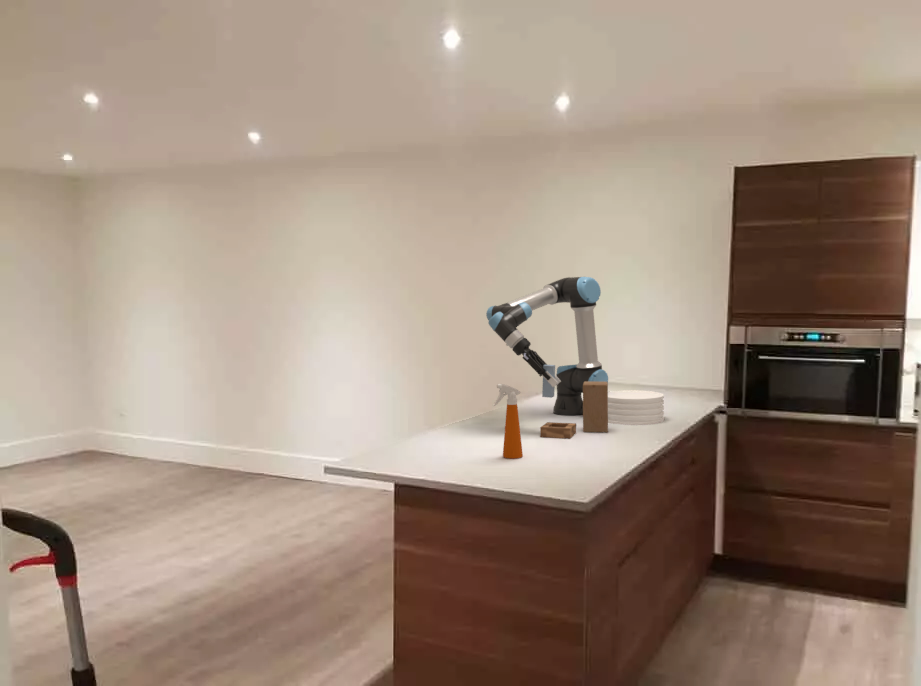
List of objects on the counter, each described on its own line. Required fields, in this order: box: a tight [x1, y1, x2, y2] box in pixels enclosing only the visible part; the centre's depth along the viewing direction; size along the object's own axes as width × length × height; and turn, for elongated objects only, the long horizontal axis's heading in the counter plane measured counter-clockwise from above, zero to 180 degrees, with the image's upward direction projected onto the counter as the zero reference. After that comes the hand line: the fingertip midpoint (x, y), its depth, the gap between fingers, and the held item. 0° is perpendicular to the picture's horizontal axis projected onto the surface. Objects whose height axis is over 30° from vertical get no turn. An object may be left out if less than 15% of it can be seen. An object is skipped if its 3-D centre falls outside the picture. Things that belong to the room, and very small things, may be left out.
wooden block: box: [582, 381, 609, 433], centre depth 312 cm, size 10×10×20 cm
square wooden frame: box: [539, 421, 577, 440], centre depth 304 cm, size 12×12×4 cm
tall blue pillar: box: [541, 364, 556, 399], centre depth 308 cm, size 4×4×13 cm
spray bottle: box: [492, 383, 524, 460], centre depth 265 cm, size 7×11×26 cm, turn 111°
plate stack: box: [608, 389, 665, 426], centre depth 337 cm, size 28×28×12 cm
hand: (557, 384), depth 306 cm, fingers closed on tall blue pillar, 4 cm apart
